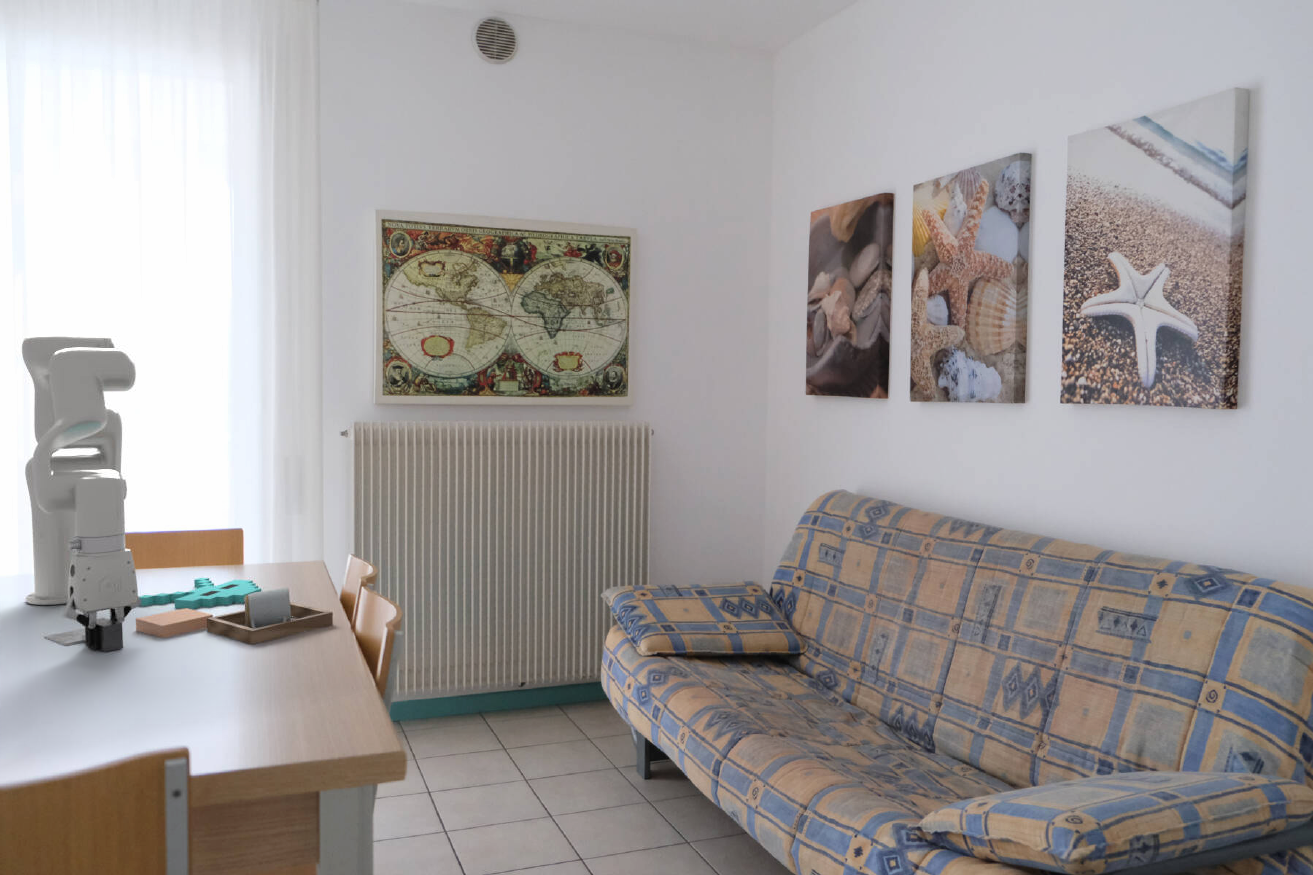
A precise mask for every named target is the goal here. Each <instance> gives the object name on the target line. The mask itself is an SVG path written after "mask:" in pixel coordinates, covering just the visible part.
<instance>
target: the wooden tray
mask: <svg viewBox="0 0 1313 875" xmlns="http://www.w3.org/2000/svg"><path fill="white" fill-rule="evenodd" d="M290 609H291V616H293V617H292V618H294V619H291V620H290V621H286V622H282V623H277V624H273V625H269V626H264V627H260V628H256V629H253V628H249V627H246V618H245V609H244V610H240V611H235V612H230V613H225V614H220V615H215V616H213V617H210V618H207V628H206V631H207V632H208V633H212V634H215V635H219V636H222V637H224V638H229V639H231V640H235V639H236V640H235V641H238V640H239V642H242V643H245V642H247V643H246V644H249V645H257V644H260V643H259V642H261V643H265V642H268V641H273V640H277V639H281V638H284V637H285V638H286V637H289V636H293V634H294V635H297V634H301V632H302V633H304V631H306V632H309V631H313V629H314V630H318V629H321V628H325V627H330V626H333V625H334V621H333V620H334V619H333V616H334V614H333V612H332V611H328V610H325V609H320V608H317V607H316V608H315V607H312V606H308V605H304V604H299V603H296V602H291V601H290ZM243 624H244V625H243Z"/></svg>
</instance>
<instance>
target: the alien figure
mask: <svg viewBox="0 0 1313 875" xmlns="http://www.w3.org/2000/svg"><path fill="white" fill-rule="evenodd" d="M193 581H194V582H193V583H194V585H193V586H194V588H196V589H193V590H189V591H175V592H173V593H172V592H171V593H167V592H166V593H165V592H162V593H157V594H153V595H152V594H150V595H149V594H144V595H140V596H139V598H140V600H141V604H140V605H142V606H141V607H149V606H151V605H150V604H152V605H154V604H155V605H166V604H168V603H174V609H185V608H188V609H192V610H196V609H198V608H203V607H204V608H212V607H214V606H229V605H231V604H245V603H244V602H245V601H244V598H245V596H246V595H248V594H251V593H255V592H262V588H259V585H256V583H255V582H253V580H249V579H246V580H245V579H233V580H231V581H230V580H229V581H227V582H224V583H220V584H218V585H215V583H214V582H213V581H212V580H210V577H199V578H196V579H194V580H193ZM233 602H234V603H233ZM228 604H229V605H228ZM148 605H149V606H148Z"/></svg>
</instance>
